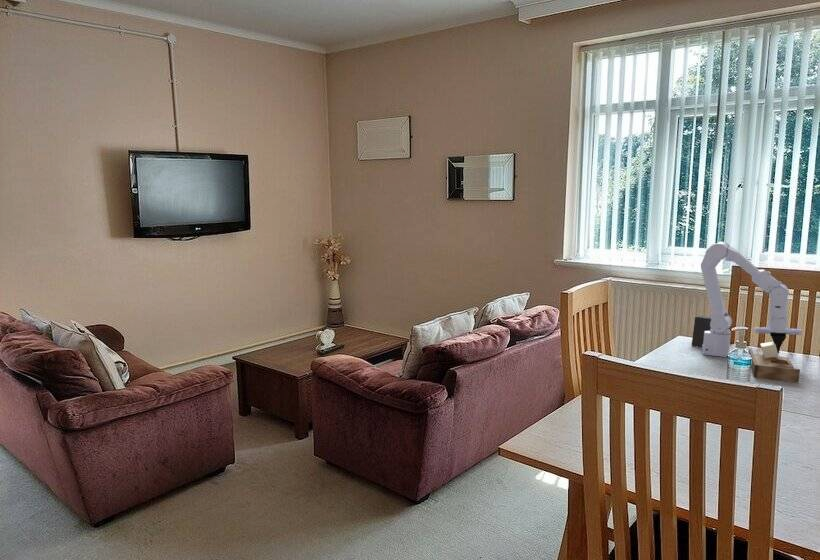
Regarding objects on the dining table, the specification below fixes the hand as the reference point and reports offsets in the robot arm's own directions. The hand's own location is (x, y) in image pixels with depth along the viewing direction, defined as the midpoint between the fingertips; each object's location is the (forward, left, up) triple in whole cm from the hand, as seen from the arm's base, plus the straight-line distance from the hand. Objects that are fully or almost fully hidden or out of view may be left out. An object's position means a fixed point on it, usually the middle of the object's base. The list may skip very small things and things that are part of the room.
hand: (777, 352), depth 213 cm
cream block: (-2, 0, -1) cm, 2 cm away
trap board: (-2, -10, -4) cm, 11 cm away
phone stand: (-25, +16, -4) cm, 30 cm away
